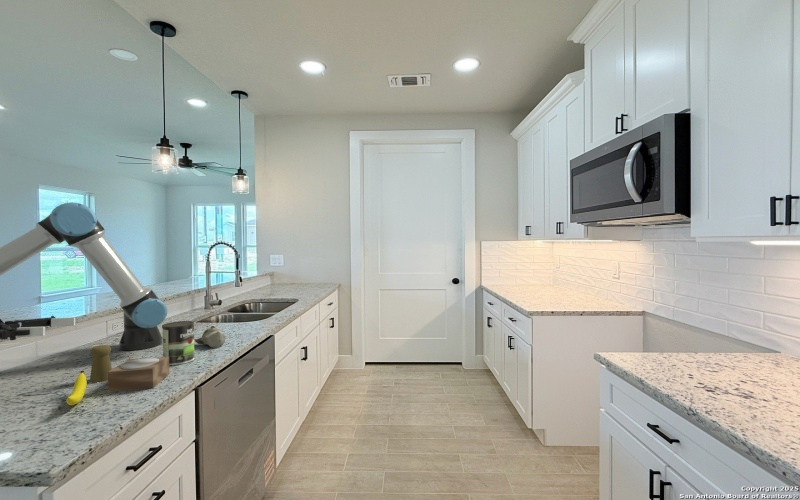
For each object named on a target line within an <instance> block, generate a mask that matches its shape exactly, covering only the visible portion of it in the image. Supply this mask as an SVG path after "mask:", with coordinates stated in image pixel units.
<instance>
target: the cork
mask: <svg viewBox="0 0 800 500" xmlns="http://www.w3.org/2000/svg"><path fill="white" fill-rule="evenodd" d="M111 351H112V348H111V346H110V345H107V344H102V345H97V346H93V347H91V350H90V352H89V353H90V356H91V357H92V359H91V361H92V362H91V368H90V374H89V376H90V378H89V383H90V382H92V384H98V383H97V382H99V383H103V382H106V381H107V382H108V372H109V371H110V370H112V369H113V367H112V364H111V358H110V354H111Z"/></svg>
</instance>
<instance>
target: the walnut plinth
mask: <svg viewBox="0 0 800 500" xmlns="http://www.w3.org/2000/svg"><path fill="white" fill-rule="evenodd" d="M170 374H171V372H170V365H169V357H163V356H159V357H158V356H157V357H156V356H154V357H142V358H141V357H140V358H128V359H126V360H125V361H123V362H121V363H120V364H119V365H117V366H116V367H114V368H112V370H110V371H109V372H108V381H107V392H108V393H113V392H124V391H137V390H149V389H154V388H156V386H158V384H160V383H161V382H162V381H163V380H165V379H166V378H167V377H168V376H170Z"/></svg>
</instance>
